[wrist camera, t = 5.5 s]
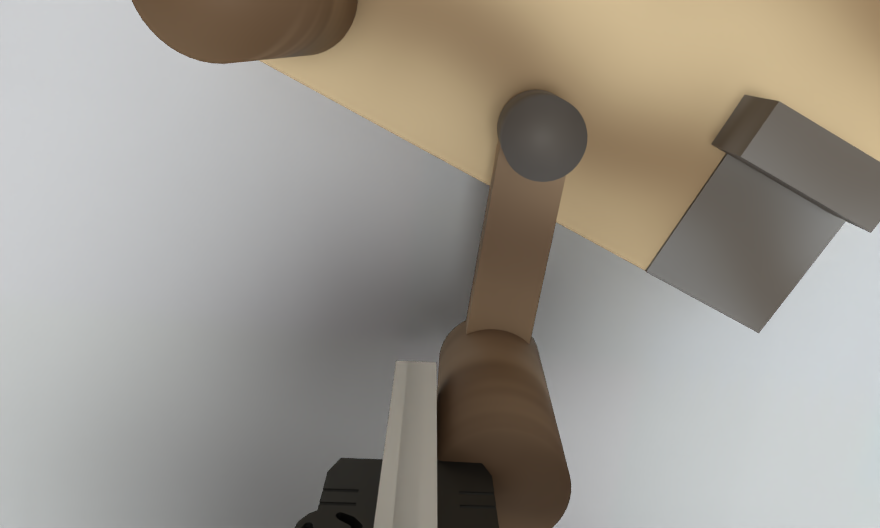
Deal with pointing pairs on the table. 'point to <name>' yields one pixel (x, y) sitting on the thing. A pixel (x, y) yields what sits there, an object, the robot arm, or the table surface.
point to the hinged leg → (512, 320)
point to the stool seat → (612, 112)
